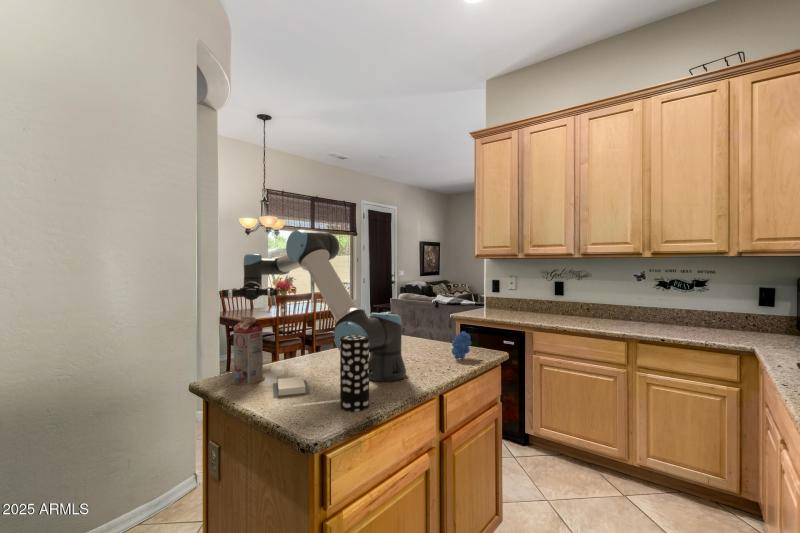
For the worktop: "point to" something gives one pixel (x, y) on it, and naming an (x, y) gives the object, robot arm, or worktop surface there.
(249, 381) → the juice carton
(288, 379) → the tile
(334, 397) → the worktop surface
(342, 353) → the spotted tube
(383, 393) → the worktop surface
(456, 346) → the grapes
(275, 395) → the mat
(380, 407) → the worktop surface
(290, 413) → the worktop surface
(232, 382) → the coaster
